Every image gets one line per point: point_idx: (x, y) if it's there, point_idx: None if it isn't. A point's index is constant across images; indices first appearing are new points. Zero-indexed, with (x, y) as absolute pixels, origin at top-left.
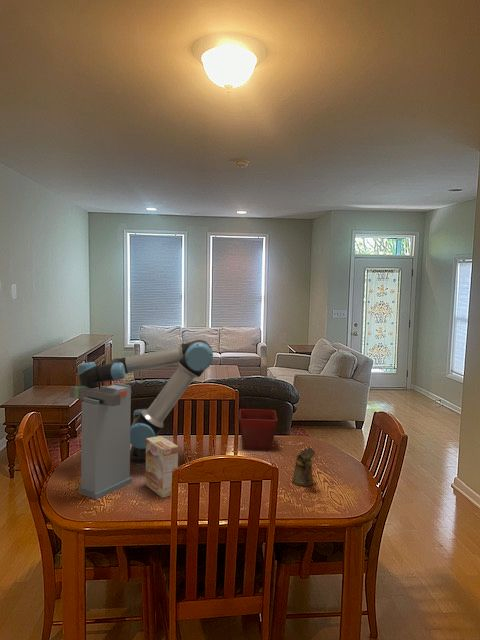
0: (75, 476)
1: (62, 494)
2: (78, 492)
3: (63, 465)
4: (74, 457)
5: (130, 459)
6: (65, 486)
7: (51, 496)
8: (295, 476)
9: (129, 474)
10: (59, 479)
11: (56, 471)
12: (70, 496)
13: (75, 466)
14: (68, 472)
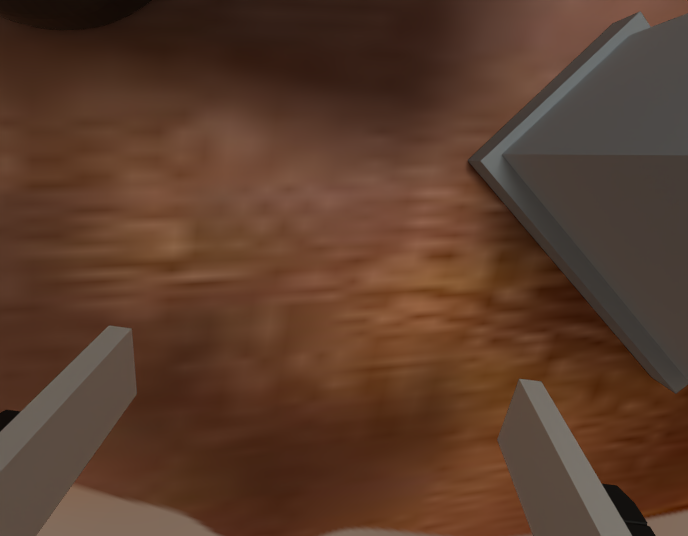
0: (397, 419)
1: (639, 452)
2: (654, 377)
3: (194, 510)
4: None
5: (119, 16)
6: None
7: (644, 498)
8: None
9: (652, 29)
10: (424, 497)
11: (293, 531)
12: (681, 411)
13: (220, 439)
14: (322, 466)
